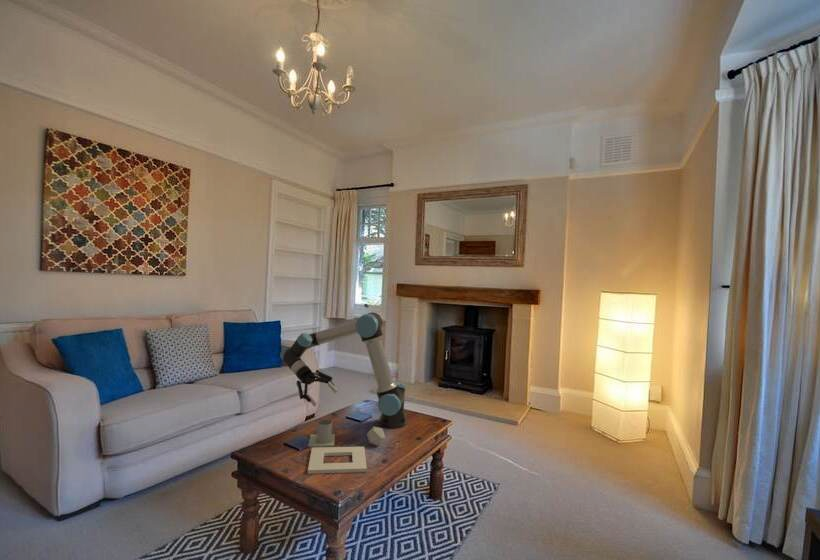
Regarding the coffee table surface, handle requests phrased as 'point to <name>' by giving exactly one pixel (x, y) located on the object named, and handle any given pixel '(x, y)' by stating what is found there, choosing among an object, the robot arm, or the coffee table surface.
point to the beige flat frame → (320, 467)
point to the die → (376, 436)
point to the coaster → (315, 444)
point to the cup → (324, 431)
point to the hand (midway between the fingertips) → (326, 398)
